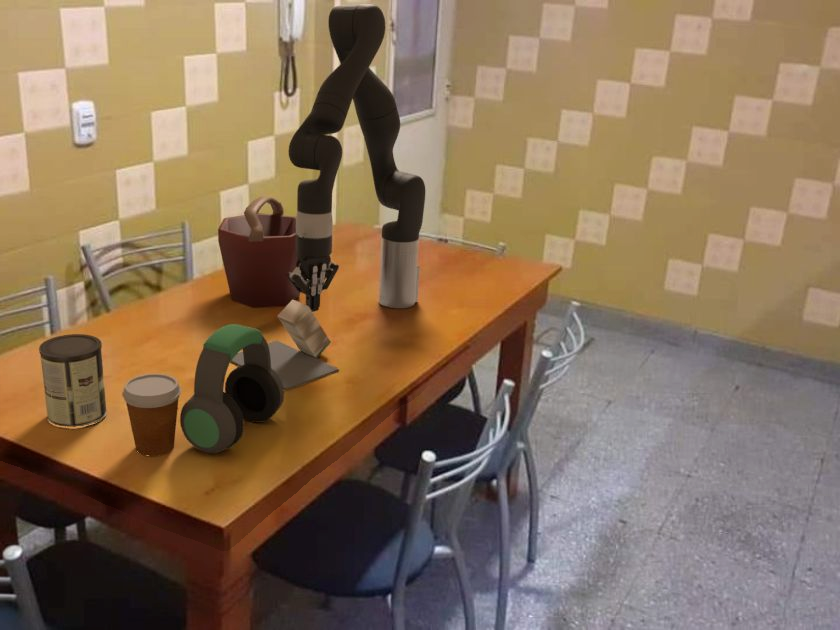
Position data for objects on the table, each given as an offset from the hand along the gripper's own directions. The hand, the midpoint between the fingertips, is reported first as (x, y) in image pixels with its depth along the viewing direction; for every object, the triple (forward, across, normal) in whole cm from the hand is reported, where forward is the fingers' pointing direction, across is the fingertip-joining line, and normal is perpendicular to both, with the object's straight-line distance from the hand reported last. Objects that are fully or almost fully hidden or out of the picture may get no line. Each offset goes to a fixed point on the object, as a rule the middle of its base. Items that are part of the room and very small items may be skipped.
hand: (312, 310), depth 190 cm
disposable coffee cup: (+11, +46, +12) cm, 49 cm away
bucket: (+10, -15, -35) cm, 39 cm away
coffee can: (+11, +50, -7) cm, 52 cm away
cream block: (+9, -1, 0) cm, 9 cm away
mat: (+10, +8, 0) cm, 13 cm away
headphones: (+11, +33, +17) cm, 39 cm away
